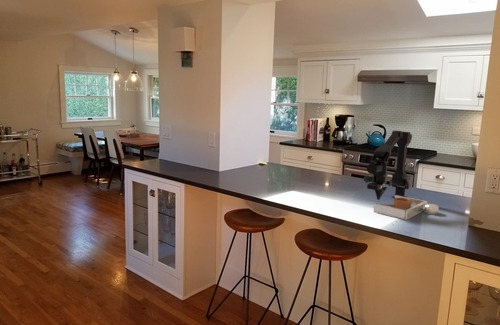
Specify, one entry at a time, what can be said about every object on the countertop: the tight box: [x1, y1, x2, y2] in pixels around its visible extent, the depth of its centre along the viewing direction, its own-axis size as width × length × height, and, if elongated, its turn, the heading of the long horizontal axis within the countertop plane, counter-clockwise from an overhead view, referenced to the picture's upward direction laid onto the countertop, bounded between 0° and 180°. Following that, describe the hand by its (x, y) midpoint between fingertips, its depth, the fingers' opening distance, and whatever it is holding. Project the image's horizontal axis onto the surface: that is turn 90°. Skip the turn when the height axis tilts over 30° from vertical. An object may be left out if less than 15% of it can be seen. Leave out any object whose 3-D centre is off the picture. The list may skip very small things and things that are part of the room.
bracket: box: [380, 197, 412, 210], centre depth 197 cm, size 18×8×7 cm, turn 86°
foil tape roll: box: [423, 203, 439, 215], centre depth 197 cm, size 6×6×4 cm
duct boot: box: [373, 194, 428, 221], centre depth 199 cm, size 26×17×4 cm, turn 136°
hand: (378, 199), depth 207 cm, fingers closed
